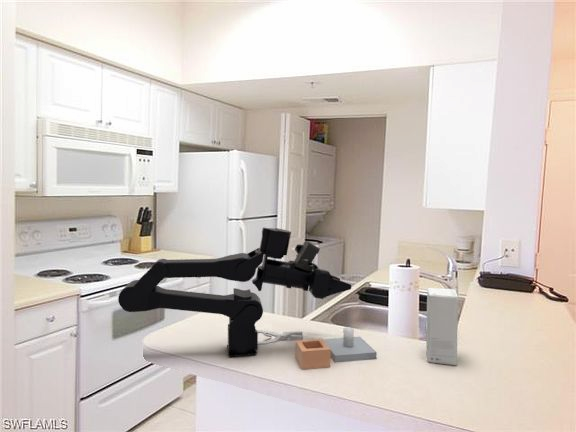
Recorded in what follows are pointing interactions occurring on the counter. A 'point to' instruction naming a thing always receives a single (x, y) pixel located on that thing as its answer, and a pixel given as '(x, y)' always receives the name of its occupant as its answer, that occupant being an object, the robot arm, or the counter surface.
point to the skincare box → (442, 326)
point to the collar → (312, 353)
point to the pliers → (280, 336)
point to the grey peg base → (350, 347)
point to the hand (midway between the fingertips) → (345, 283)
